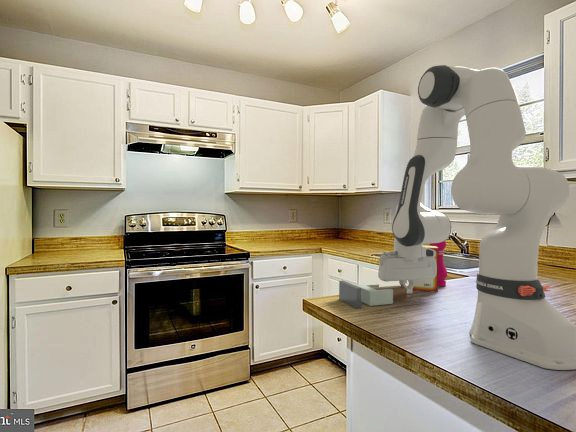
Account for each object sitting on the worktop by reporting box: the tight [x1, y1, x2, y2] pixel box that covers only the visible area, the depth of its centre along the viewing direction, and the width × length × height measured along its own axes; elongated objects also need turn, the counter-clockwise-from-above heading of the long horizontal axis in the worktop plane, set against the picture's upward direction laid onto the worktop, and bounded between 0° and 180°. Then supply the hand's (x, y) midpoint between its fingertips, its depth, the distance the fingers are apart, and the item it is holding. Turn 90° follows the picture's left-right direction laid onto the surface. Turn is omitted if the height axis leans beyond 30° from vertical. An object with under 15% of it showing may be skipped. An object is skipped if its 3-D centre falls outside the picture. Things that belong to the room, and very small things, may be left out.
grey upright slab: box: [338, 280, 362, 310], centre depth 105 cm, size 11×2×6 cm, turn 19°
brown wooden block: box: [371, 285, 408, 303], centre depth 110 cm, size 4×12×4 cm, turn 108°
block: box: [354, 283, 394, 307], centre depth 108 cm, size 9×8×4 cm
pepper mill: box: [428, 240, 448, 287], centre depth 133 cm, size 7×7×20 cm
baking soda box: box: [413, 245, 439, 293], centre depth 126 cm, size 10×6×16 cm
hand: (407, 293), depth 112 cm, fingers closed
